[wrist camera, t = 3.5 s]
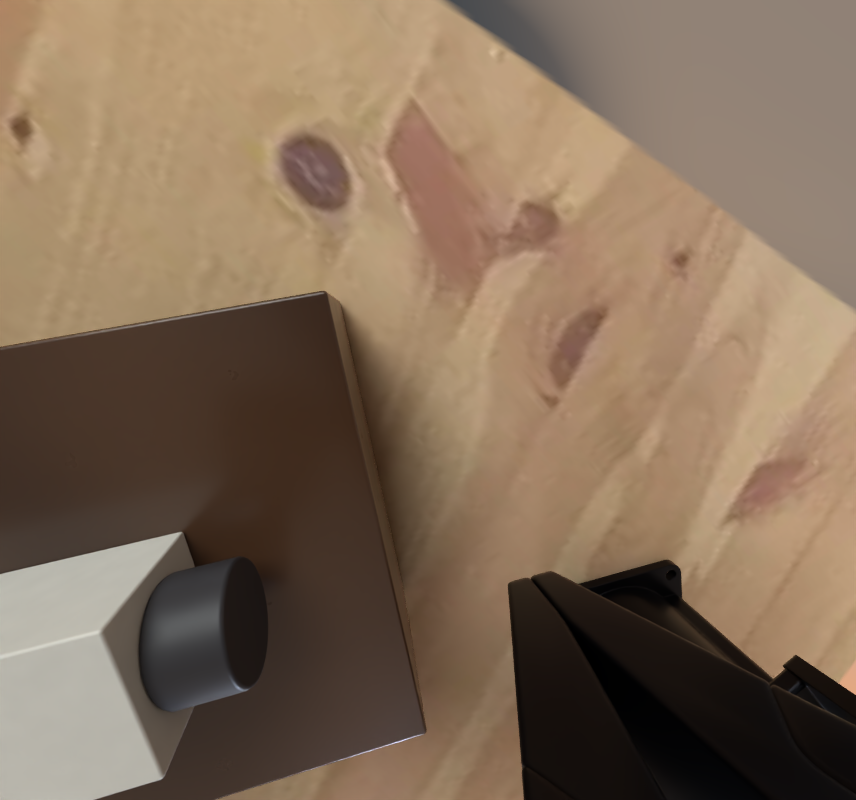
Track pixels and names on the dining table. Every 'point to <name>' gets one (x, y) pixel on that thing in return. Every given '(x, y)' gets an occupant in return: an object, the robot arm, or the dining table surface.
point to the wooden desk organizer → (227, 515)
